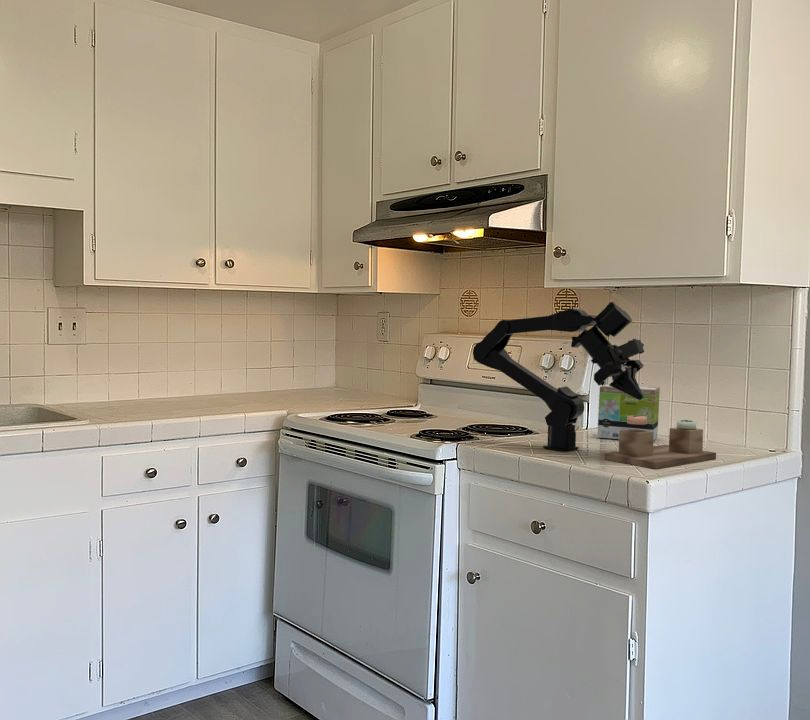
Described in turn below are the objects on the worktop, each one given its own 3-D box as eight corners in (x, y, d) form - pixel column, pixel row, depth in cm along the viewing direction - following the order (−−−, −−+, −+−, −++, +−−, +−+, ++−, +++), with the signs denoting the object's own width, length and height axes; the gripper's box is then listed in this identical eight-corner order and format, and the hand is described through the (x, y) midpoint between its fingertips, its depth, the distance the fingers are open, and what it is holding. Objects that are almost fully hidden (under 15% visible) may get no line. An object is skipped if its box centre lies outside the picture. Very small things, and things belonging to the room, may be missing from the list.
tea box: (596, 438, 220) (598, 385, 219) (603, 434, 229) (605, 383, 228) (653, 443, 213) (655, 388, 213) (658, 438, 222) (660, 385, 222)
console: (604, 459, 187) (605, 429, 186) (664, 450, 201) (665, 423, 201) (655, 469, 176) (657, 437, 175) (715, 458, 190) (717, 429, 190)
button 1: (623, 422, 186) (623, 415, 186) (634, 421, 188) (634, 414, 188) (638, 425, 182) (639, 417, 182) (650, 423, 185) (650, 416, 185)
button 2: (672, 427, 191) (673, 420, 191) (683, 426, 194) (683, 418, 194) (689, 429, 188) (689, 422, 188) (699, 428, 190) (700, 421, 190)
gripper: (609, 327, 184) (653, 378, 178) (637, 327, 199) (679, 375, 193) (575, 359, 189) (617, 410, 183) (605, 356, 204) (645, 404, 198)
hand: (641, 398), depth 189 cm, fingers closed
